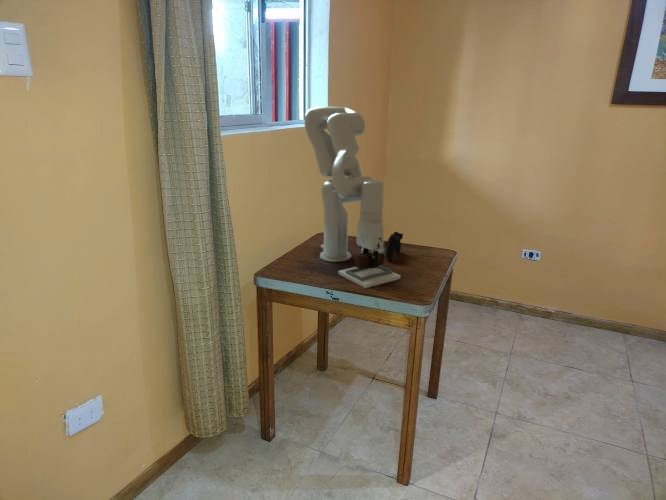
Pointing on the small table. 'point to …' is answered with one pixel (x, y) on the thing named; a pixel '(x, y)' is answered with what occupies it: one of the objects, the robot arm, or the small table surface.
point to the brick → (367, 260)
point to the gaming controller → (393, 245)
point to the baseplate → (369, 275)
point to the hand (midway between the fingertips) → (369, 265)
